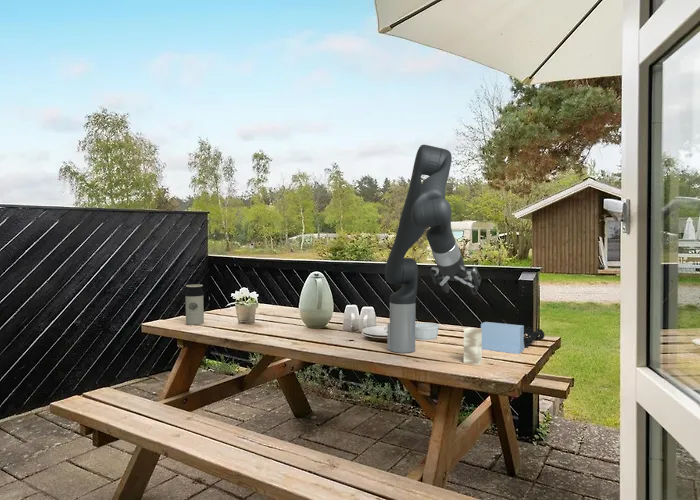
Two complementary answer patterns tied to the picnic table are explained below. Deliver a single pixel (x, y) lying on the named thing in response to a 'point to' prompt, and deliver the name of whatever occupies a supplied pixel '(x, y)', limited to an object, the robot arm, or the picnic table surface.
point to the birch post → (472, 346)
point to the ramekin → (426, 331)
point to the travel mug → (194, 304)
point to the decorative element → (532, 336)
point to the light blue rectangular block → (502, 337)
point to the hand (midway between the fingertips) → (461, 291)
